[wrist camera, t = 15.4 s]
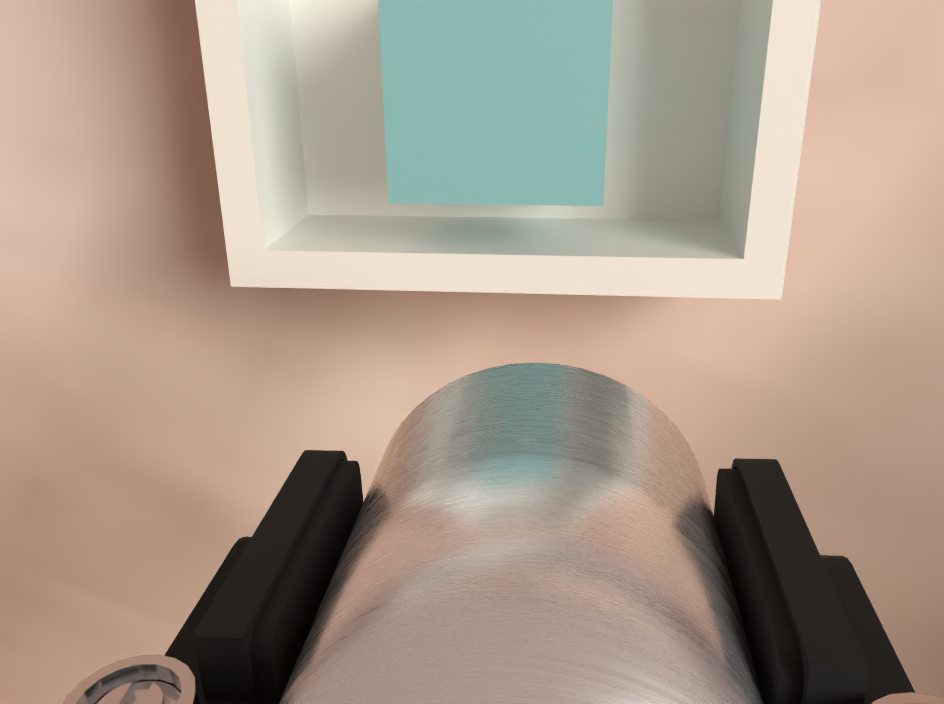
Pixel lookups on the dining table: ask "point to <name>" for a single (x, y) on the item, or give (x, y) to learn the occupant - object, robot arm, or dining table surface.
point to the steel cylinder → (531, 558)
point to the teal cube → (495, 100)
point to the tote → (514, 226)
